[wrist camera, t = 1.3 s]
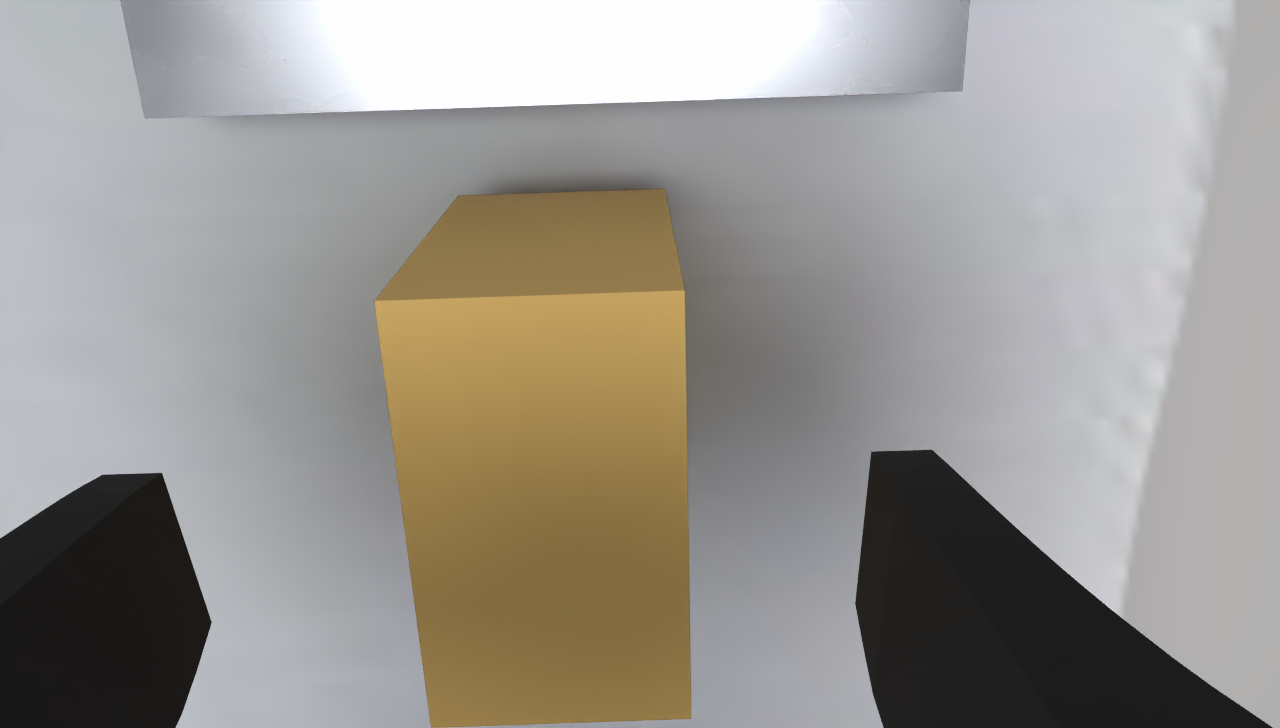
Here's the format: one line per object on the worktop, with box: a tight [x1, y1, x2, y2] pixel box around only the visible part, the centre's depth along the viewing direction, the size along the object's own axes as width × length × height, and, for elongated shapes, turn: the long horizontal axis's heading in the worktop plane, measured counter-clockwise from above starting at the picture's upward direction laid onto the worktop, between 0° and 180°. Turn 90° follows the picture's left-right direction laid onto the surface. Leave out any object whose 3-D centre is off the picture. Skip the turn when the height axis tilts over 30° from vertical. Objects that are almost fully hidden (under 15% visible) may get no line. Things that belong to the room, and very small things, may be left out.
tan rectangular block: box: [374, 189, 691, 728], centre depth 16 cm, size 6×4×8 cm, turn 2°
